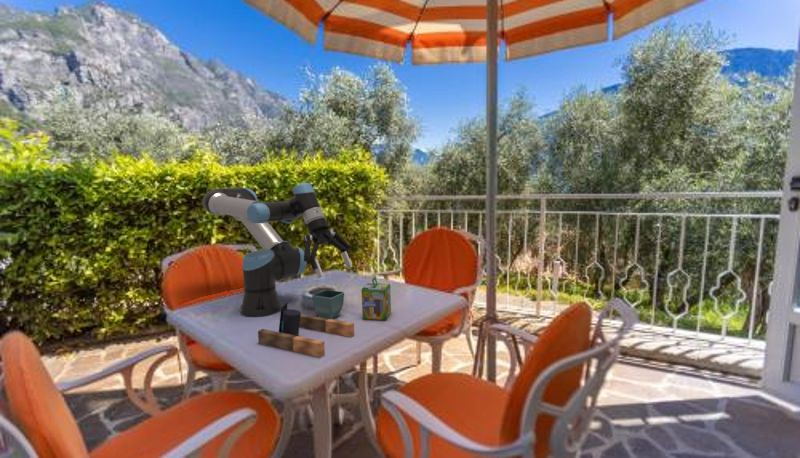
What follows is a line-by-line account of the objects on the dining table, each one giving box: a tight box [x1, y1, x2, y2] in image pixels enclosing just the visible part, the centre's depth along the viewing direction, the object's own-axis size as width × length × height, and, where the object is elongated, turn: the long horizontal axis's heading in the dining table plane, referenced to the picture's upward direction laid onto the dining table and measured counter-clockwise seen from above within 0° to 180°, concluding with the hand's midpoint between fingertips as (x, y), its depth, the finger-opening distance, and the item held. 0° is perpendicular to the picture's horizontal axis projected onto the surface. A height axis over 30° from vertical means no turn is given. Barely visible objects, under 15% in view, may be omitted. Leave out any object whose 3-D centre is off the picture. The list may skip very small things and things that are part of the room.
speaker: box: [278, 302, 302, 336], centre depth 128 cm, size 8×6×10 cm
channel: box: [257, 313, 355, 358], centre depth 125 cm, size 24×18×4 cm
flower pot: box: [311, 289, 345, 320], centre depth 146 cm, size 9×9×9 cm
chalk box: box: [361, 275, 392, 321], centre depth 145 cm, size 9×9×15 cm
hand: (336, 272), depth 146 cm, fingers open, 13 cm apart
